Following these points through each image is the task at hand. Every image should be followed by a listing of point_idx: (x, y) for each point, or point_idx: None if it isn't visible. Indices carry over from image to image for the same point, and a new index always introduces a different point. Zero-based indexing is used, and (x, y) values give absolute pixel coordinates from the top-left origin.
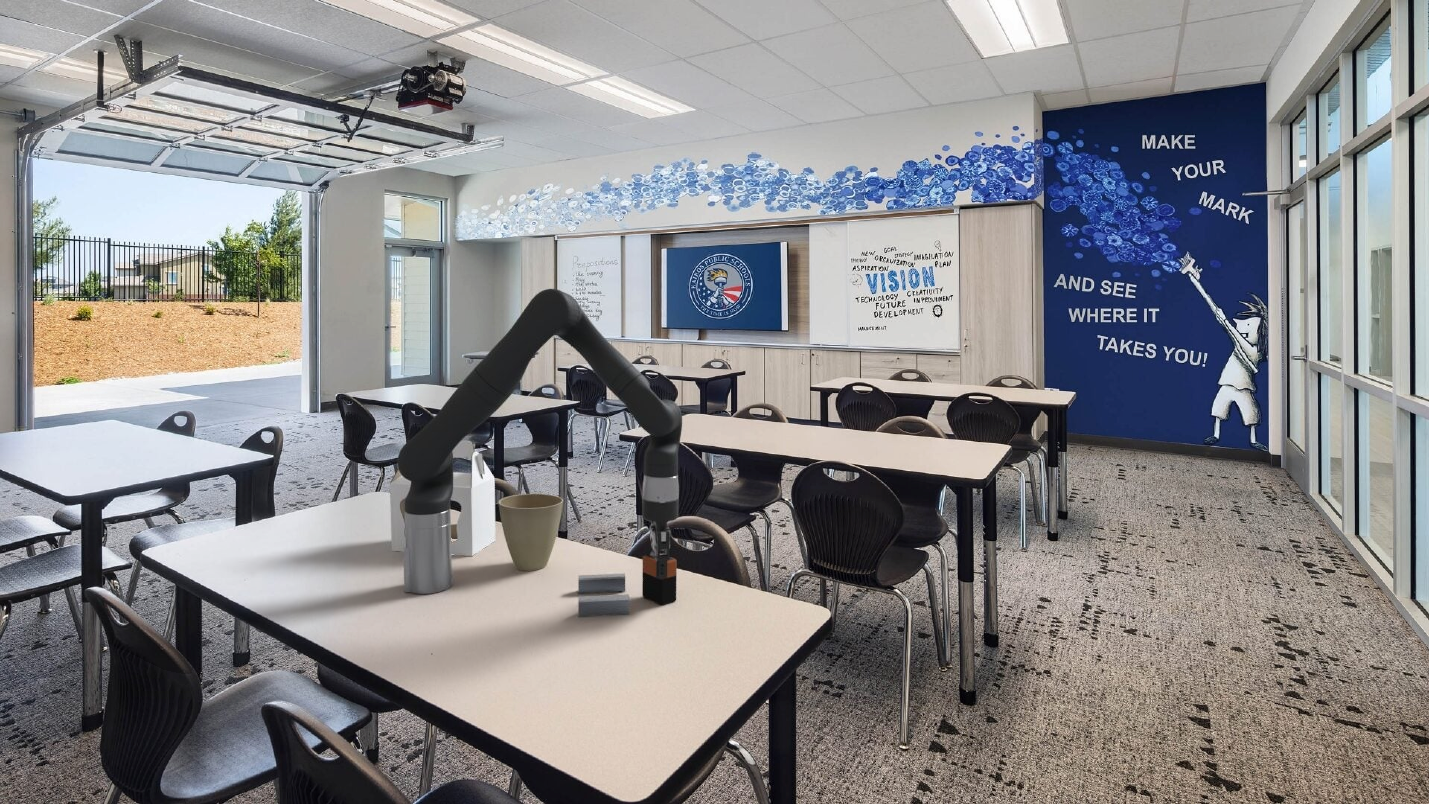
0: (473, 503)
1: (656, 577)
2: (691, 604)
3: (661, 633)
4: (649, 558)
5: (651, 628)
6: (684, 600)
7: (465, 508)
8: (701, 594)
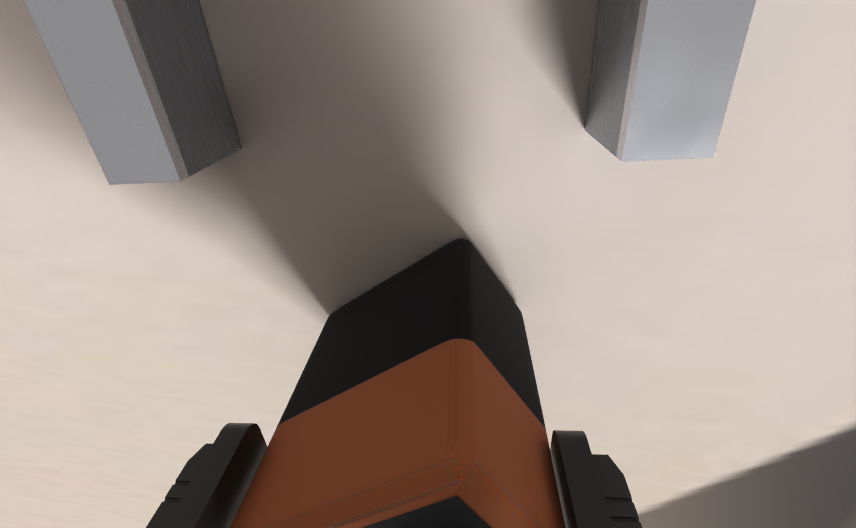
0: None
1: (226, 425)
2: None
3: (7, 290)
4: (359, 511)
5: (42, 254)
6: None
7: None
8: None
